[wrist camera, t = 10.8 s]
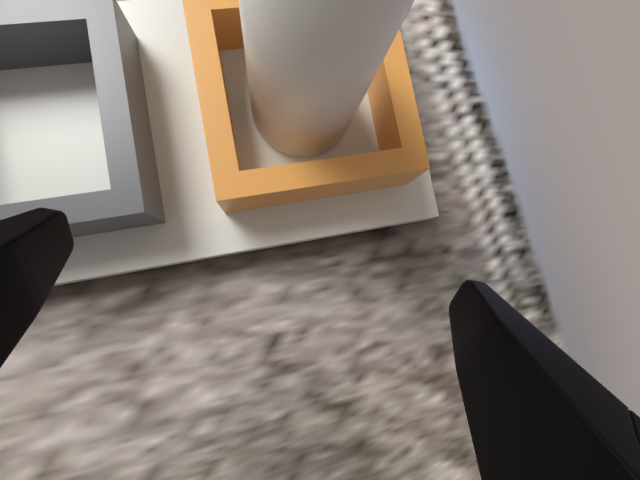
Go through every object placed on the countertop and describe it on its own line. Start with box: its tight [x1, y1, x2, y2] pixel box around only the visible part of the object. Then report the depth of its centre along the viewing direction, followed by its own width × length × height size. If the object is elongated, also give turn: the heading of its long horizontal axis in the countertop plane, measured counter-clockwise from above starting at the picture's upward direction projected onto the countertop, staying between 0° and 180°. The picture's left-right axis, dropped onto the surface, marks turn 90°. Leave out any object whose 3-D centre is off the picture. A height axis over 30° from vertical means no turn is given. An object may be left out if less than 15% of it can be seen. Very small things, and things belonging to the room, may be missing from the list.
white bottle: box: [238, 0, 414, 158], centre depth 10 cm, size 5×5×12 cm
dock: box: [0, 0, 439, 286], centre depth 15 cm, size 12×22×4 cm, turn 101°
